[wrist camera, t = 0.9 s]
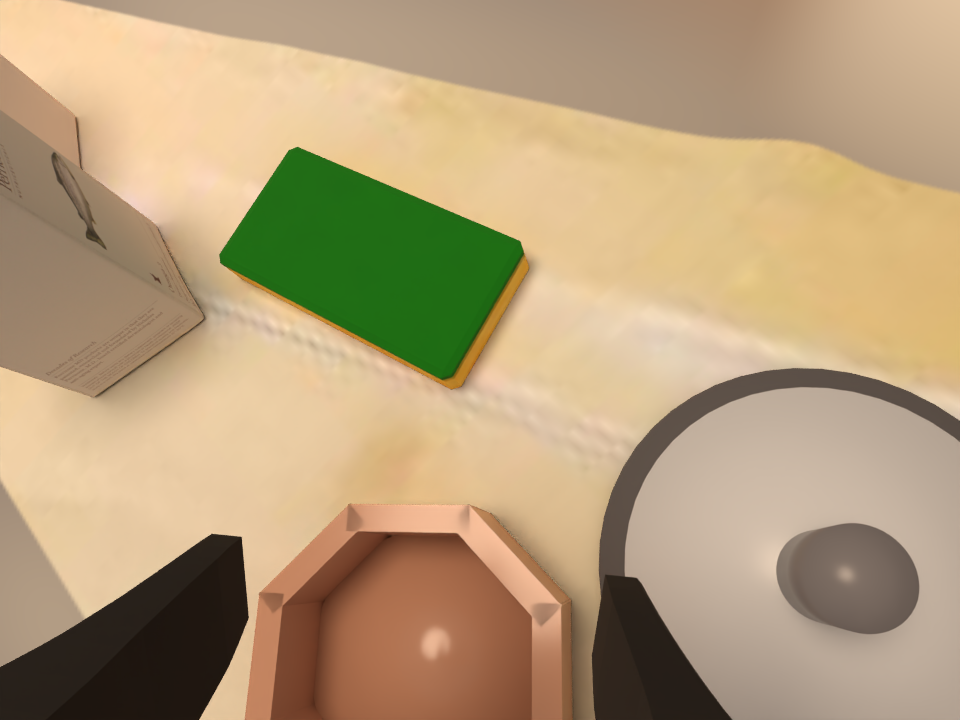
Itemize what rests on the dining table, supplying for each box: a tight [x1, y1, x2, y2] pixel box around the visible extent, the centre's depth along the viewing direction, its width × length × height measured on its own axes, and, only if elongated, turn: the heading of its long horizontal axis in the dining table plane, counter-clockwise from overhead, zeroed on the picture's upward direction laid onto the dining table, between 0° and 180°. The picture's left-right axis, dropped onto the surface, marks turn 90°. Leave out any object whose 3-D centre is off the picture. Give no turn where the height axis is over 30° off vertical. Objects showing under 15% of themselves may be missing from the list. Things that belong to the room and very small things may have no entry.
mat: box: [599, 368, 960, 596], centre depth 25 cm, size 16×16×1 cm
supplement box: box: [0, 110, 204, 397], centre depth 30 cm, size 7×7×13 cm
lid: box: [625, 387, 960, 720], centre depth 22 cm, size 14×14×5 cm
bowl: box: [245, 504, 573, 720], centre depth 25 cm, size 12×12×4 cm
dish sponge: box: [219, 147, 529, 390], centre depth 32 cm, size 7×14×2 cm, turn 60°
